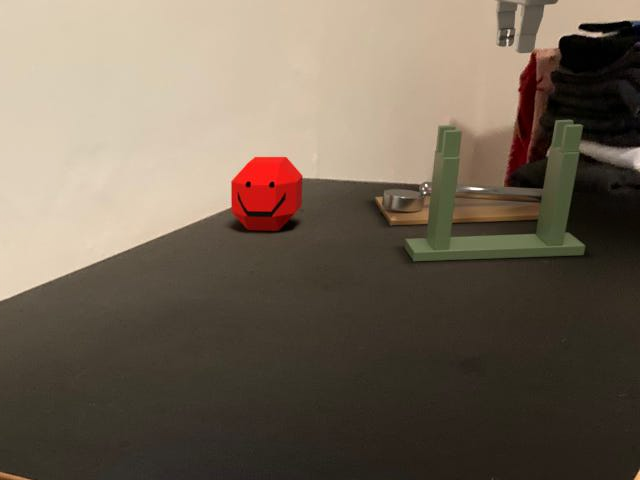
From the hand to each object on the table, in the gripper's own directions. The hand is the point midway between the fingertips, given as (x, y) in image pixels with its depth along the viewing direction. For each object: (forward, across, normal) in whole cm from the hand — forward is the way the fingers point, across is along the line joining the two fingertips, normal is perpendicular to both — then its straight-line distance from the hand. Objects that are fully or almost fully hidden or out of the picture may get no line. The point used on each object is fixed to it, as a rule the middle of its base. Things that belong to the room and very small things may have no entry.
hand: (513, 49), depth 114 cm
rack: (+18, -20, +5) cm, 27 cm away
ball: (+17, -4, +29) cm, 34 cm away
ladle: (+17, 0, +3) cm, 18 cm away
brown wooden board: (+18, +1, +4) cm, 18 cm away
